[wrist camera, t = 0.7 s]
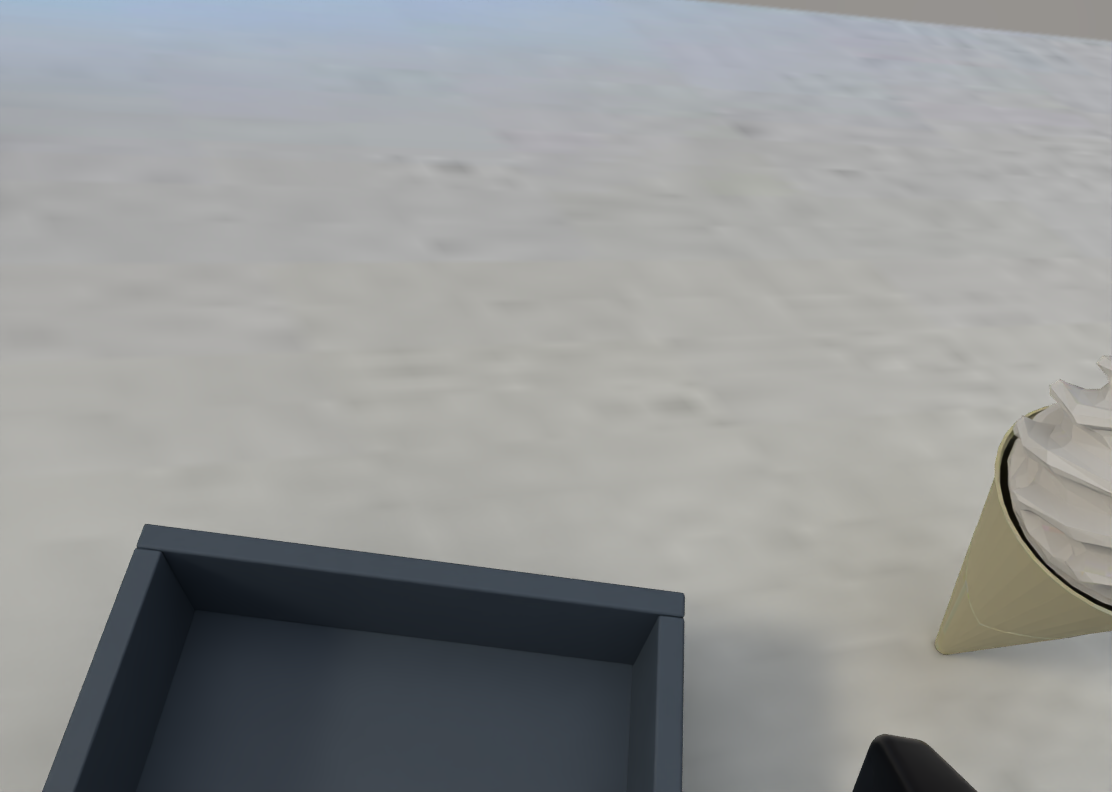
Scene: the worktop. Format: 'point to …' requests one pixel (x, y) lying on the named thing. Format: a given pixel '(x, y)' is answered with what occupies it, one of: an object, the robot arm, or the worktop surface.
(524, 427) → the worktop surface
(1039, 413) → the ice cream cone
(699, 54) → the worktop surface
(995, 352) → the worktop surface
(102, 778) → the tub
